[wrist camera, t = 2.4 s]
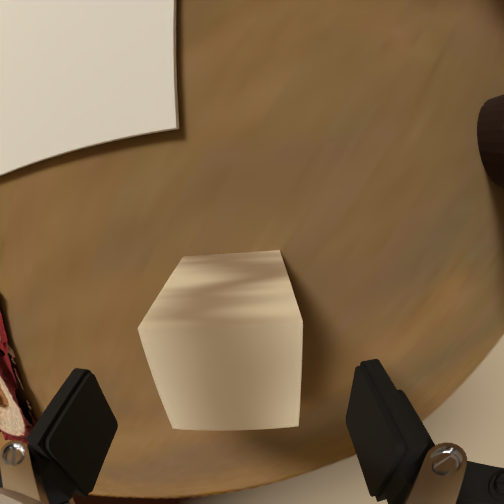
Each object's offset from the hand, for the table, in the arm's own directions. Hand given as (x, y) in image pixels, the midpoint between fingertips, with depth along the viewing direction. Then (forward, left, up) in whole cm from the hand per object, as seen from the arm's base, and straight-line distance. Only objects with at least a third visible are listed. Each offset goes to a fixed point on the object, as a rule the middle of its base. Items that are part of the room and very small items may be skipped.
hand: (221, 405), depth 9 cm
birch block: (0, -1, -7) cm, 7 cm away
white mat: (+10, -18, -7) cm, 21 cm away
